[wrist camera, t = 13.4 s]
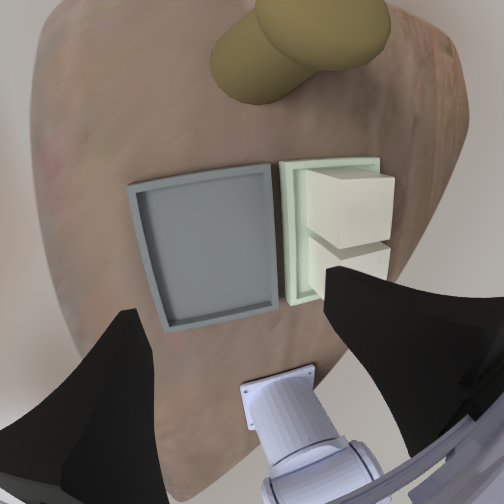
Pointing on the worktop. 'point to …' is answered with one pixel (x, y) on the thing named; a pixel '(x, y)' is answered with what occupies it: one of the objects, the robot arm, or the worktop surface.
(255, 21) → the cork
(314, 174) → the stone block
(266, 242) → the tray
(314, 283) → the stone block
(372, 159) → the tray
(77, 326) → the worktop surface
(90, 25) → the worktop surface
